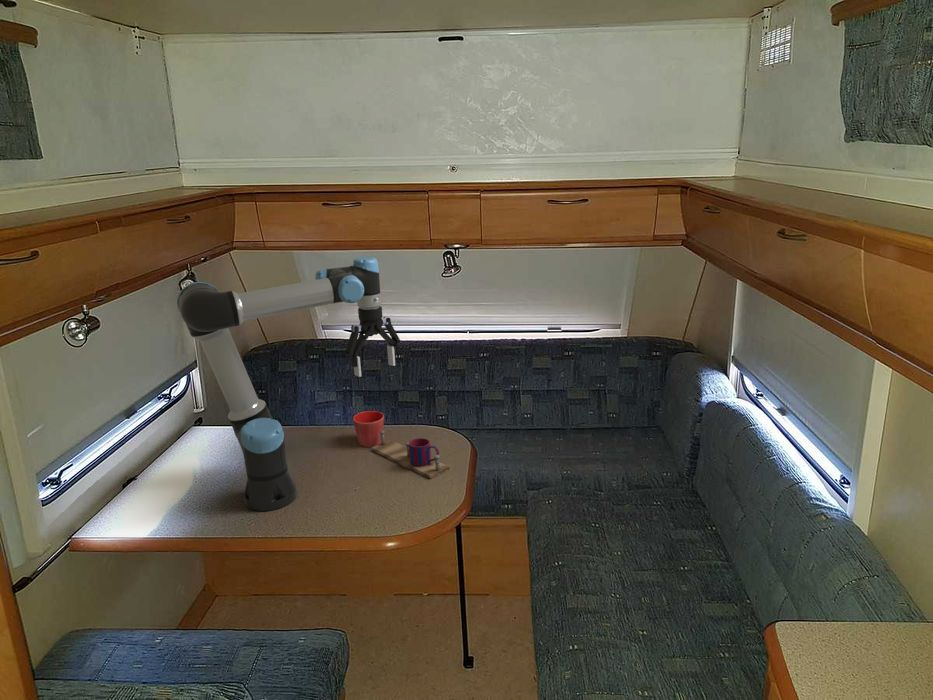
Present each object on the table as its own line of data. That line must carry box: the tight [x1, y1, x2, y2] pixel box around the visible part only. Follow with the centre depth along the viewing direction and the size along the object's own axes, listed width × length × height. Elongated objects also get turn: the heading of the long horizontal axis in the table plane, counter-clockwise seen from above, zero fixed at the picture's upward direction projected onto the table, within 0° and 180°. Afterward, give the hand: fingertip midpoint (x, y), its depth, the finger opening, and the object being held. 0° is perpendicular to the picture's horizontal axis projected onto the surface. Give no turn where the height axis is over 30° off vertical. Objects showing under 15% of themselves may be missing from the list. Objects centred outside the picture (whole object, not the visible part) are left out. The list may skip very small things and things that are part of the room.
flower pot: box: [352, 410, 385, 448], centre depth 234 cm, size 11×11×10 cm
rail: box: [371, 429, 450, 480], centre depth 220 cm, size 30×8×6 cm, turn 44°
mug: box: [408, 437, 440, 467], centre depth 215 cm, size 7×10×7 cm
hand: (375, 370), depth 220 cm, fingers open, 13 cm apart
